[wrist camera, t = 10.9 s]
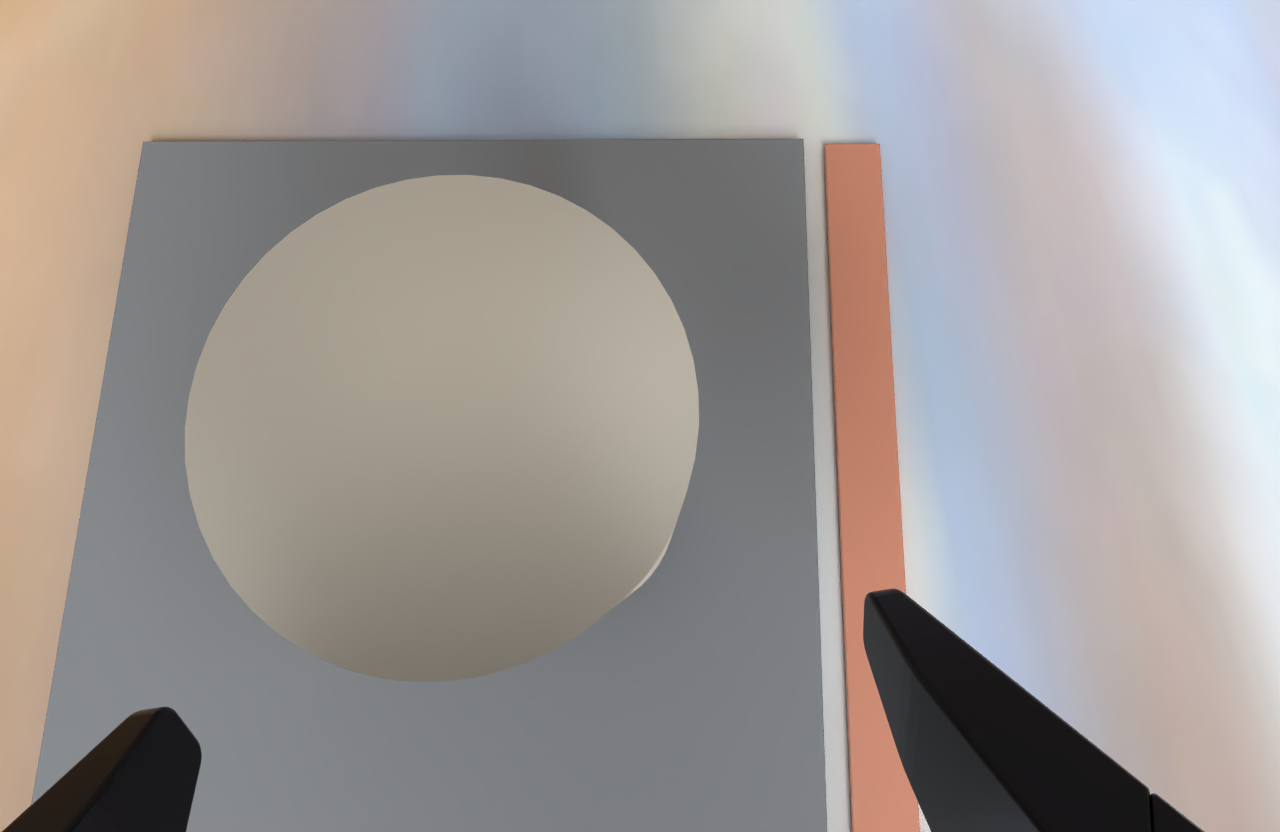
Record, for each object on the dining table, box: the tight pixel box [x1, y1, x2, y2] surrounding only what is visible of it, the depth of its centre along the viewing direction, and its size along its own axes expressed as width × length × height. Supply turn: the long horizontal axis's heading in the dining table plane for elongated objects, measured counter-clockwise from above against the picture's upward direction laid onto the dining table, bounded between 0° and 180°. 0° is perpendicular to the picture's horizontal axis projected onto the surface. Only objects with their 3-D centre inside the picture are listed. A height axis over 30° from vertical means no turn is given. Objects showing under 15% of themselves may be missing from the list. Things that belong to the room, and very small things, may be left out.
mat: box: [31, 139, 827, 832], centre depth 20 cm, size 20×22×1 cm
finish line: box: [824, 144, 920, 832], centre depth 20 cm, size 22×2×1 cm, turn 179°
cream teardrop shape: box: [185, 175, 699, 682], centre depth 14 cm, size 5×5×13 cm
